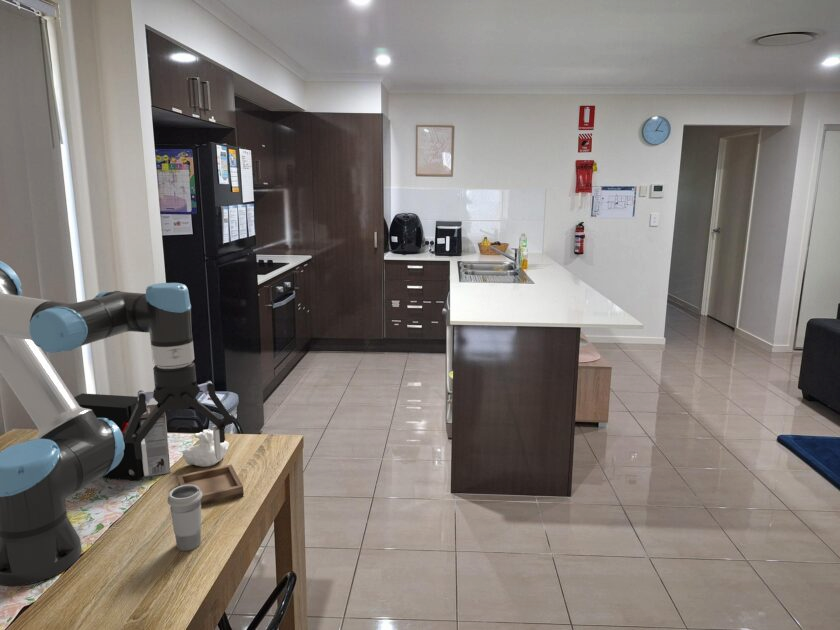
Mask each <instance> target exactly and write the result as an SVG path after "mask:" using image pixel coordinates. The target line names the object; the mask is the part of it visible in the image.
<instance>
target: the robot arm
mask: <svg viewBox="0 0 840 630" xmlns="http://www.w3.org/2000/svg"><path fill="white" fill-rule="evenodd" d="M21 287H22V282H21V280H20V278H19V276H18V274H17V273H16V272H15V271H14V269H13V268H12V267H10V266H9V264H7V263H5V262H3V261H2V260H0V373H1V375H2V377H3V378H4V380H5V382H7V384H8V386H9V388H10V389H11V390H12V393H14V395H15V396H16V397H17V399H18V400H19V402H20V403H21V405H22V406H23V408H24V409H25V411H26V412H27V414H28V416H29V417H30V418H31V420H32V422H33V423H34V424H35V426H36V427H37V429H38V433H37V437H36V438H35V439H29V440H27V441H25V442H18V443H15V444H13V445H10V446H8V447H6V448H4V449H3V450H2V451H0V585H2V586H9V587H10V586H12V587H15V586H16V587H17V586H25V585H30V584H35V583H39V582H41V581H45V580H47V579H51V578H52V577H54V576H57V575H59V574H60V573H62V572H64V571H66V570H67V569H68V568H70V567H71V566H73V565H74V563H76V562H77V561H78V559H79V558H80V556H81V555H82V552H83V551H82V548H83V547H82V542H81V538H80V535H79V534H78V532H77V531H76V528H75V527H74V525H73V523H72V522H71V520H70V519H69V517H68V514H67V506H66V498H68V497H69V496H71V495H72V494H74V493H76V492H78V491H79V490H81V489H82V488H85V487H86V486H88V485H89V484H91V483H93V482H94V481H97V480H98V479H102V478H101V477H103V476H104V475H106V474H107V473H108V472H109V471H111V470H112V469H114V468H115V467H116V466H117V465H118V464H119V463H120V462H121V460H122V458H123V455H124V452H123V451H124V449H125V443H133V444H134V448H135V456H136V458H137V459H142V462H143V471H144V475H145V476H146V475H149V472H148V462H147V452H146V443H145V439H144V438H145V436H146V435H147V434H148V432H149V431H150V430H151V428H152V427H153V426H154V424H155V423H156V422H157V421H158V419H159V418H160V417H161V416H162V415H163V414H164V412H165V413H166V411H167V412H175V411H178V410H188V408H190V407H192V408H193V409H195V410H196V411H197V412H199V413H200V414H201V415H202V416H203V417H205V418H206V419H207V420H209V421H210V422H211V423H212V424H213V425H212V430H213V437H214V440H213V442H214V450H215V457H216V459H217V461H218V460H220V461H221V460H222V459H221V450H220V443H223V442H225V441H226V436H225V435H226V433H225V432H226V431H225V429H226V427H227V426H228V425H232V424H233V423H234V419H233V418H232V416H231V415H230V413H229V412H228V410H227V409H226V407H225V405H224V403H222V402H221V399H219V397H218V395H217V394H216V389H215V385H214V383H212V381H211V380H207V381H205V382H204V383H201V384H198V383H197V374H196V373H197V372H196V371H197V370H196V364H195V362H194V360H195V351H194V340H193V338H194V337H193V332H192V304H191V300H190V294H189V289H188V287H187V285H186V284H183V283H180V282H162V283H161V282H160V283H153V284H150V285H148V286H147V287H146V288H145V293H142V292H141V293H140V292H131V291H130V292H127V291H122V290H114V291H102V292H98V294H96V296H95V297H93V298H91V299H86V300H83V301H78V302H71V303H68V302H62V301H55V300H54V301H53V300H48V299H43V298H35V297H29V296H25V295H24V296H23V289H21ZM127 332H137V333H147V334H148V333H149V338H150V348H151V350H150V351H151V360H152V364H153V365H154V367H153V380H154V381H153V382H154V389H153V391H144V390H139V391H138V392H137V396H136V397H137V404H136V406H135V408H134V411H133V413H132V415H131V418H130V420H129V422H128V424H127V427H126V429H125V431H124V434H123V435H122V432H121V430H120V429H119V427H118V426H117V425H116V424H115V423H114V422H113V421H111V420H110V421H109V420H108V419H107V418H97V417H96V416H95V414H94V413H93V411H92V410H91V409H86V408H82V407H80V406H79V404H78V403H77V402H76V400H75V399H74V397H75V396H73V394H72V392H71V391H70V390H69V388H68V386H67V385H66V384H65V382H64V380H63V379H62V378H61V376H60V375H59V373H58V372H57V371H56V369H55V367H54V365H53V364H52V363H51V361H50V359H48V357H47V355H46V353H49V354H57V353H61V352H67V351H72V350H75V349H77V348H79V347H82V346H85V345H88V344H89V345H90V344H92V343H94V342H98V341H100V340H105V339H107V338H111V337H114V336H116V335H117V336H118V335H119V334H123V333H127ZM200 392H203V394H204V395H208V396H209V398H210V399H211V401H212V402H213V404H214V405H215V407H216V408H217V409H218V411H219V413H220V415H222V418H219V416H218V415H217V414H215V413H214V412H212V411H211V410H210V409H209V408H208V407H206V406H205V405H204V404H203V403H202V402H200V401H199V399H197V397H198V396H199V393H200ZM152 399H154V400H155V401H156V402H157V403H156V404H155V405H156V406H155V408H154V410H153V411H152V412H151V414H150V415H149V416H148V418H147V419H146V420H145V422H144V423H143V424H142V426H141V427H140V428H139V430H138V431H137V432H136V434H135V435H134V431H135V429H136V427H137V425H138V422H139V420H140V418H141V415H142V413H143V411H144V408H145V404H147V405H148V404H149V403H150V402H151V400H152Z"/></svg>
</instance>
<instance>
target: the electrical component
mask: <svg viewBox="0 0 840 630" xmlns="http://www.w3.org/2000/svg"><path fill="white" fill-rule="evenodd" d="M73 397H74V399H75V400H76V402H77V403H78V404H79V406H80V407H82V408H86V409H91V410H92V411H93V413H94V414H95V416H96V417H97V418H107V419H108V420H109V421H110V420H111V421H113V422H114V423H115V424H116V425H117V426H118V427H119V429H120V430H121V432H122V435H123V434H124V431H125V429H126V427H127V424H128V422H129V420H130V418H131V415H132V413H133V411H134V408H135V406H136V404H137V397H138V396H132V395H131V396H130V395H118V394H117V395H115V394H100V393H98V394H95V393H79V395H76V396H73ZM147 405H148V403H147V404H145V408H144V411H143V413H142V415H143V414H144V413H145V412H147ZM139 428H140V427H139V422H138V425H137V427H136V429H135V431H134V435H135V434H136V432H137V431H138V430H139ZM123 452H124V455H123V458H122V460H121V462H120V463H119V464H118V465H117V466H116V467H115V468H114V469H112V470H111V471H109V472H108V473H107V474H106V475H104V476H103V477H101V478H100V479H110V480H123V481H134V482H139V481H140V480H142V479H143V478H145V477H144V471H143V462H142V459H137V458H136V456H135V448H134V444H133V443H125V449H124V451H123Z"/></svg>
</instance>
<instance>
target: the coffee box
mask: <svg viewBox="0 0 840 630" xmlns="http://www.w3.org/2000/svg"><path fill="white" fill-rule="evenodd" d="M156 405H157V404H147V412H145V413H144V414H143V415H141V418H140V420H139V427H141V426H142V424H143V423H144V422H145V420H146V419H147V418H148V416H149V415H150V414H151V412H152V411H153V410H154V408H155V406H156ZM168 437H169V436H168V427H167V415H166V411H165V412H164V414H163V415H162V416H161V417H160V418H159V419H158V421H157V422H156V423H155V424H154V426H153V427H152V428H151V430H150V431H149V432H148V434H147V435H146V436H145V438H144V439H145V443H146V452H147V462H148V472H149V475H146V476H145V475H144V477H143V478H147V477H154V476H158V475H164V474H169V473H171V466H170V464H171V463H170V453H169V451H170V450H169V449H170V448H169V440H168V439H169V438H168Z"/></svg>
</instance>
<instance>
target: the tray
mask: <svg viewBox="0 0 840 630" xmlns="http://www.w3.org/2000/svg"><path fill="white" fill-rule="evenodd" d="M187 484H192V485H196V486H198V487H199V488H200V490H201V492H202V494H203V495H202V498H201V499H200V501H201V507H203V506H208V505H212V504H216V502H217V503H221V502H224V501H229V500H233V499H236V498H237V497H238V498H241V497H240V496H242V497H244V496H245V495H244V493H245V492H244V485H243V483H242V482H241V479H240V477H239V476H238V474H237V472H236V470H235V468H234V467H233V465H232V464H228V465H224V466H218V467H213V468H209V469H208V468H207V469H204V470H199V471H195V472H189V473H185V474H179V475H177V487H178V486H181V485H187ZM243 495H244V496H243Z"/></svg>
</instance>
